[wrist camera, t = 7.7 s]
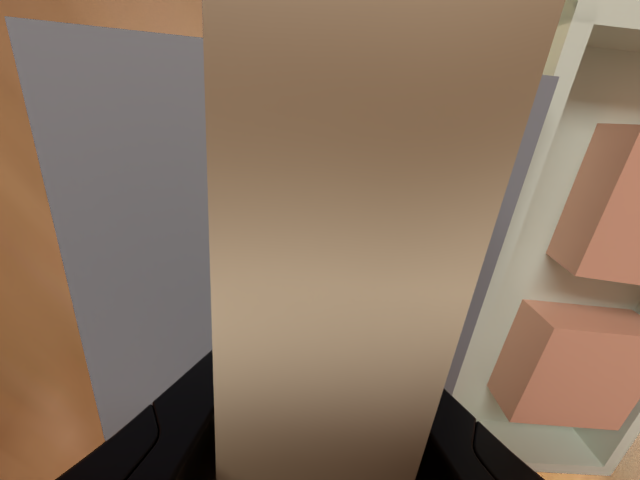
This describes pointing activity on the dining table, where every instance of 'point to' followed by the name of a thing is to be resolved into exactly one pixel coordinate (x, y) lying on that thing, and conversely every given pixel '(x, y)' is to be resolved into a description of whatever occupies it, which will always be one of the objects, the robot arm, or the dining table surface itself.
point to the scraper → (353, 216)
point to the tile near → (603, 210)
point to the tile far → (569, 366)
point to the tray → (540, 223)
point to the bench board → (151, 199)
